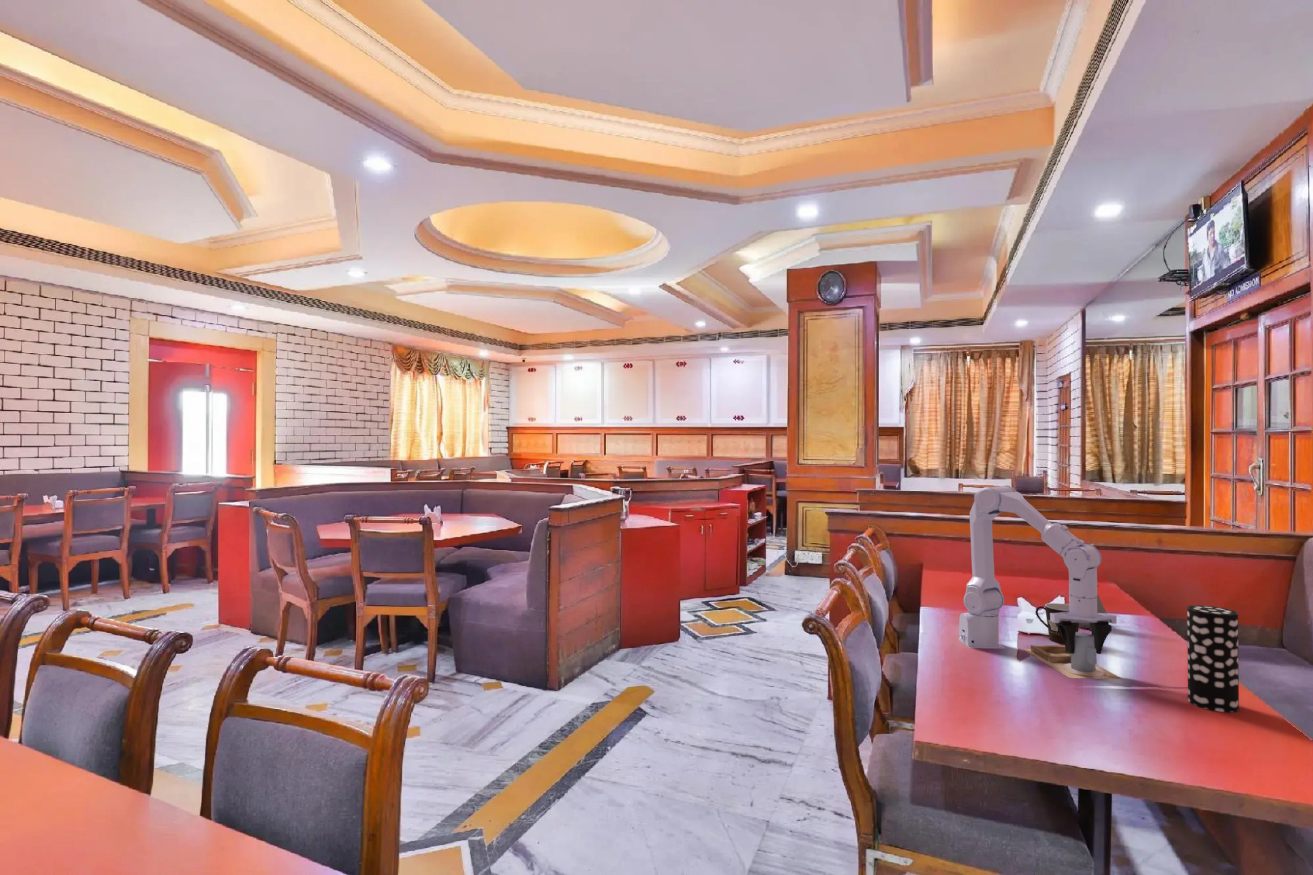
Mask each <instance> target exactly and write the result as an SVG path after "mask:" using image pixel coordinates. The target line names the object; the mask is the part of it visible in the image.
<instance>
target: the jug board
mask: <svg viewBox="0 0 1313 875" xmlns="http://www.w3.org/2000/svg"><path fill="white" fill-rule="evenodd" d="M1022 651H1024V652H1026V653H1028V654H1029V655H1031V656H1033V657H1034V658H1036V659H1038V660H1039V661H1041V662H1042V663H1043V664H1046V665H1047V666H1049V667H1051V668H1052V669H1054V670H1056V671H1058V672H1059V673H1061V674H1063V676H1066V677H1068V678H1069V679H1092V680H1093V679H1097V680H1099V679H1104V680H1105V679H1109V680H1123V678H1122V677H1120V675H1119V676H1118V675H1117V674H1115V673H1113V672H1111V671H1109V670H1107V669H1105V668H1104V667H1101V666H1100V665H1098V664H1096V671H1094V672H1081V671H1077V670H1074V669H1072V668H1071V654H1070V653H1069V652H1067V651H1066V648H1065V645H1063V644H1059V645H1055V644H1054V645H1053V644H1052V645H1048V644H1046V645H1045V644H1041V645H1040V644H1037V645H1036V644H1031V645H1030V648H1022Z"/></svg>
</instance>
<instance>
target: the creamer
mask: <svg viewBox="0 0 1313 875" xmlns="http://www.w3.org/2000/svg"><path fill="white" fill-rule="evenodd" d="M1096 665H1098V664H1097V653H1096V649H1095V643H1094V636H1093V635H1092V633H1088V632H1082V631H1081V632H1080V631H1078V632H1076V633H1075V639H1074V654H1071V668H1072V669H1074V670H1077V671H1081V672H1094V671H1096Z"/></svg>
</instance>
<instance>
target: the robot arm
mask: <svg viewBox="0 0 1313 875" xmlns="http://www.w3.org/2000/svg"><path fill="white" fill-rule="evenodd" d="M973 496H974V498H973V500H974V501H973V503H972V507H971V509H970V511H969V529H970V551H971V552H970V553H971V554H970V555H971V574H972V577H971V579H970V580H969V581H967V583H966V587H965V588H966V589H965V593H964V596H963V604H964V607H965V608H966V610H967V612H962V613H960V615H959V620H958V628H959V629H958V632H959V633H958V636H959V637H958V641H959V642H960V643H962V644H963V645H965V646H966V647H968V648H969V649H1006V647H1004V646H1003V645H1001V644H1000V638H999V637H1000V635H999V634H1000V632H999V631H1000V628H999V627H1000V626H999V625H1000V624H999V620H1000V617H999V614H1000V609H1001V608H1003V606H1004V604H1005V597H1004V596H1005V595H1004V594H1003V592H1002V589H1001V584H1000V582H999V581H998V580H997V578H996V576H995V563H994V562H995V559H994V556H995V555H994V540H993V539H994V538H993V520H994V519H996V518H997V517H998V516H999V515H1000V514H1001V513H1013V514H1015V515H1017V516H1018V517H1019V518H1021V519H1022V520H1023V521H1025V522H1026V523H1028V525H1030V526H1031V527H1032V528H1034V529H1035V530H1037V531H1038V532H1039V533H1040V536H1041V540H1042V541H1043V543H1045V544H1046V545H1047V546H1049V547H1050V548H1051V549H1052V550H1053V551H1054V552H1056V553H1057V554H1058V555H1059V556H1060V557H1061V558H1063V562H1064V565H1065V566H1066V567H1067V570H1068V605H1069V612H1061V613H1050V621H1052V622H1054V623H1055V624H1056V626H1057V627H1058V629H1059V631H1060V633H1061V635H1062V638H1063V641H1064V644H1063V645H1064V646H1065V648H1066V651H1067V652H1069V653H1070V654H1074V639H1075V633H1076V630H1077V628H1076V627H1075V626H1073V624H1071V622H1079V623H1089V624H1090V628H1091V629H1090V632H1091V633H1090V634H1092V635H1093V636H1094V643H1095V649H1096V655H1101V653H1102V651H1103V648H1104V644H1105V642H1106V640H1107V638H1108V635H1109V634H1110V633H1111V632H1112V631H1113V625H1114V624H1115V625H1117V622H1118V621H1117V615H1116V614H1113V613H1107V614H1106V613H1097V594H1098V586H1097V584H1098V567H1099V566H1100V565H1101V564H1102V558H1103V557H1102V554H1101V552H1100V551H1099V550H1098V549H1097V547H1096V546H1095V545H1093V544H1086V543H1085V541H1084V540H1083V539H1079V538H1078V537H1077V536H1075V535H1074V534H1073V533H1071V532H1070V531H1069V530H1068V529H1069V527H1068V526H1067V525H1066V524H1060V523H1058V522H1057V523H1056V522H1055V523H1051V521H1049V520H1048V519H1047V518H1046V517H1045V516H1044V515H1043V514H1042V513H1041V512H1040V511H1038V510H1037V509H1036V508H1035V507H1034V506H1033V505H1032V504H1030V503H1029V502H1028V501H1027V500H1026V499H1025V498H1024V496H1023V495H1022V493H1020V492H1019V491H1017V490H1016V489H1015V488H1013V487H1012V486H1011V485H1010V486H1009V485H1002V486H985V487H981V489H980V490H978V491H977V492H975V493H974V494H973ZM1111 624H1113V625H1111Z"/></svg>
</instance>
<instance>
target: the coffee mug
mask: <svg viewBox="0 0 1313 875" xmlns="http://www.w3.org/2000/svg"><path fill="white" fill-rule="evenodd" d="M1040 609H1041V610H1042V609H1043V610H1044V611H1045V618H1046V622H1045V621H1044V620H1043V619H1042V618H1041V616H1040V614H1039V610H1040ZM1061 612H1069V603H1067V604H1066V603H1056V602H1055V603H1054V602H1052V603H1050V602H1049V603H1045V604H1044V606H1043V605H1042V606H1037V607H1036V608H1035V615H1036V617H1037V619H1038V620H1039V621H1040V622H1041V623H1042V624H1043V626H1045V627H1046V628H1047V632H1048V639H1049V641H1050V642H1053V643H1056V644H1059V645H1065V644H1064V641H1063V638H1062V635H1061V633H1060V631H1059V629H1058V627H1057V626H1056V624H1055V623H1054V622H1052V621H1050V613H1061ZM1071 624H1073V626H1075V627H1076V628H1077V630H1076V632H1079V631H1080V630H1079V628H1080V627H1079V622H1071Z"/></svg>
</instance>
